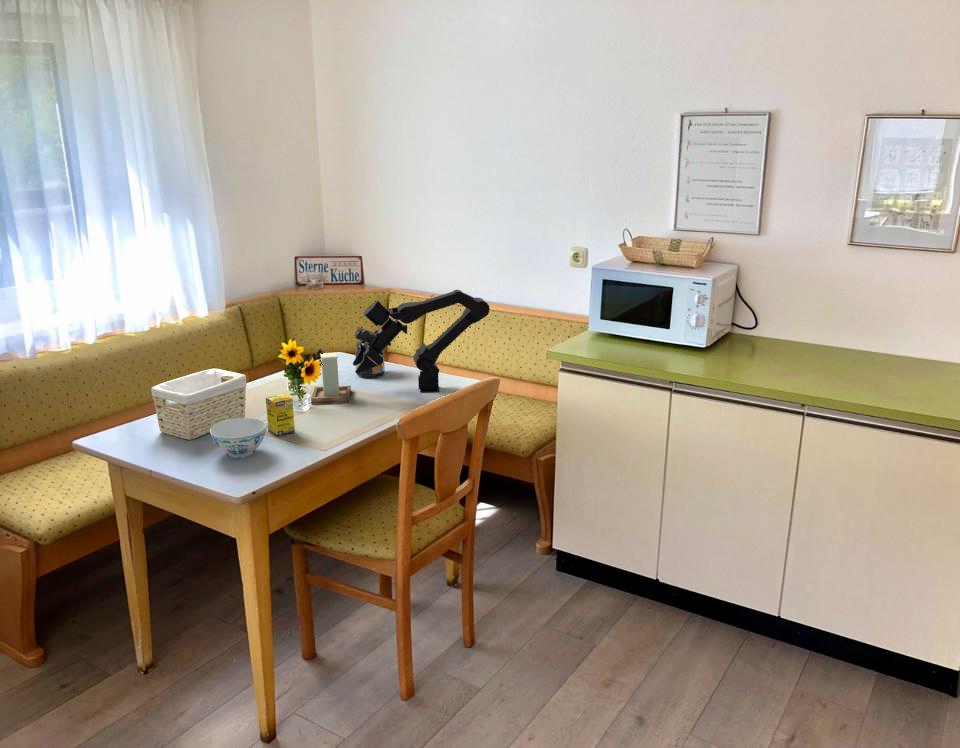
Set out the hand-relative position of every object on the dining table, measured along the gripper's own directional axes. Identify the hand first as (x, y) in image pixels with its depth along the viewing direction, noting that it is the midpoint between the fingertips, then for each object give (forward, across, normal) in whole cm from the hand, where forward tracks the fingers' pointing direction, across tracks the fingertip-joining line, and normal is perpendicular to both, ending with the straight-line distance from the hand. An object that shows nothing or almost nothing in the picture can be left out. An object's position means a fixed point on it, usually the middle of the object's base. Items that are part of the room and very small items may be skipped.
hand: (354, 368), depth 264 cm
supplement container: (+2, -22, +12) cm, 25 cm away
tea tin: (+12, 0, 0) cm, 12 cm away
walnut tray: (+12, 0, +1) cm, 13 cm away
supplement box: (+24, +28, -11) cm, 38 cm away
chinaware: (+32, +41, -19) cm, 55 cm away
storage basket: (+40, +16, -27) cm, 51 cm away
